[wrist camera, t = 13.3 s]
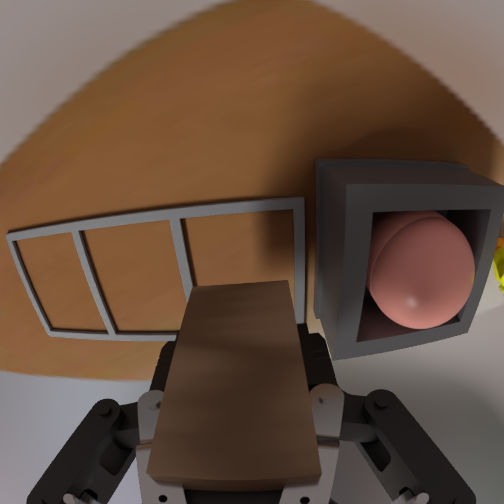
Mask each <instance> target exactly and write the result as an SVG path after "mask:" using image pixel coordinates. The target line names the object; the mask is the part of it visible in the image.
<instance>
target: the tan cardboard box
mask: <svg viewBox="0 0 504 504" xmlns="http://www.w3.org/2000/svg"><path fill="white" fill-rule="evenodd" d="M146 474H147V475H149V476H150V477H151V478H152V479H153V480H160V481H168V482H176V483H182V484H183V485H184V486H185V487H186V488H187V489H191V490H204V491H235V492H241V491H272V490H284V486H285V484H287V483H298V482H306V481H314V480H320V478H321V475H322V471H321V464H320V458H319V451H318V445H317V438H316V432H315V426H314V420H313V414H312V408H311V402H310V396H309V390H308V384H307V379H306V373H305V367H304V362H303V356H302V351H301V346H300V340H299V335H298V330H297V324H296V319H295V314H294V309H293V304H292V299H291V294H290V289H289V284H288V280H282V281H270V282H257V283H243V284H228V285H213V286H196V287H192V289H191V293H190V296H189V300H188V303H187V307H186V310H185V314H184V317H183V321H182V325H181V328H180V332H179V336H178V339H177V343H176V347H175V351H174V354H173V358H172V362H171V366H170V370H169V374H168V378H167V382H166V386H165V390H164V394H163V398H162V402H161V407H160V411H159V415H158V419H157V424H156V428H155V433H154V437H153V442H152V446H151V451H150V456H149V461H148V466H147V471H146Z"/></svg>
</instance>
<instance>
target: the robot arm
mask: <svg viewBox="0 0 504 504" xmlns="http://www.w3.org/2000/svg"><path fill="white" fill-rule="evenodd" d="M297 330H298V335H299V340H300V346H301V351H302V356H303V362H304V367H305V373H306V379H307V384H308V390H309V396H310V402H311V408H312V414H313V420H314V426H315V432H316V438H317V445H318V451H319V458H320V464H321V471H322V475H321V478H320V480H314V481H306V482H298V483H287V484H285V486H284V490H272V491H241V492H235V491H204V490H191V489H187V488H186V487H185V486H184V485H183V484H182V483H176V482H168V481H160V480H153V479H152V478H151V477H150V476H149V475H147V474H146V471H147V466H148V461H149V456H150V451H151V446H152V442H153V437H154V433H155V428H156V424H157V419H158V415H159V411H160V407H161V402H162V398H163V394H164V390H165V386H166V382H167V378H168V374H169V370H170V366H171V362H172V358H173V354H174V351H175V347H176V343H177V339H178V336H179V332H180V330H178V332H177V335H176V339H175V341H168V342H167V343H166V344H165V345H164V347H163V348H162V350H161V353H160V356H159V359H158V363H157V366H156V369H155V373H154V376H153V379H152V383H151V386H150V390H149V391H148V392H146V393H144V394H143V395H142V396H141V397H140V398H139V400H138V402H135V403H130V404H126V405H119V404H118V403H117V402H116V401H115V400H113V399H103V400H100V401H98V402H97V403H96V404H95V405H94V406H93V407H92V409H91V410H90V411H89V413H88V414H87V415H86V417H85V418H84V419H83V421H82V422H81V423H80V425H79V426H78V427H77V429H76V430H75V431H74V433H73V434H72V435H71V437H70V438H69V440H68V441H67V442H66V444H65V445H64V446H63V448H62V449H61V450H60V452H59V453H58V454H57V456H56V457H55V459H54V460H53V461H52V463H51V464H50V466H49V467H48V468H47V470H46V471H45V473H44V474H43V475H42V477H41V478H40V480H39V481H38V482H37V484H36V485H35V487H34V488H33V490H32V491H31V492H30V494H29V495H28V498H27V502H26V503H27V504H107V503H108V502H109V500H110V498H111V497H112V495H113V493H114V492H115V490H116V488H117V487H118V485H119V483H120V482H121V480H122V479H123V477H124V475H125V474H126V472H127V470H128V469H129V467H130V465H131V463H132V462H133V460H134V459H135V457H136V458H137V467H138V476H139V484H140V491H141V498H142V504H338V503H336V502H335V501H334V500H332V499H331V498H330V494H331V489H332V484H333V480H334V474H335V469H336V463H337V457H338V451H339V440H343V441H352V442H354V443H355V444H356V446H357V447H358V449H359V451H360V452H361V454H362V455H363V457H364V458H365V460H366V461H367V463H368V464H369V466H370V467H371V469H372V471H373V472H374V474H375V475H376V477H377V478H378V479H379V481H380V483H381V484H382V486H383V487H384V489H385V490H386V492H387V493H388V495H389V496H390V498H391V499H392V501H393V502H392V503H391V504H476V497H475V494H474V493H473V491H472V490H471V489H470V487H468V485H467V484H466V483H465V481H464V480H463V478H462V477H461V476H460V475H459V473H458V472H457V471H456V470H455V468H454V467H453V466H452V465H451V463H450V462H449V461H448V459H447V458H446V457H445V456H444V454H443V453H442V452H441V451H440V449H439V448H438V447H437V446H436V445H435V443H434V442H433V441H432V440H431V438H430V437H429V436H428V435H427V434H426V432H425V431H424V430H423V428H422V427H421V426H420V425H419V423H418V422H417V421H416V420H415V418H414V417H413V416H412V415H411V414H410V412H409V411H408V410H407V409H406V407H405V406H404V405H403V404H402V403H401V401H400V400H399V399H398V398H397V397H396V395H395V394H394V393H392V392H390V391H388V390H384V389H379V390H375V391H372V392H371V393H369V394H368V395H367V396H357V395H351V394H348V393H346V392H344V391H343V390H342V389H340V387H339V386H338V384H337V382H336V378H335V374H334V370H333V366H332V363H331V359H330V355H329V352H328V348H327V344H326V341H325V339H324V338H323V337H322V336H321V335H320V334H319V333H311V334H309V331H308V327H307V323H298V324H297Z"/></svg>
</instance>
